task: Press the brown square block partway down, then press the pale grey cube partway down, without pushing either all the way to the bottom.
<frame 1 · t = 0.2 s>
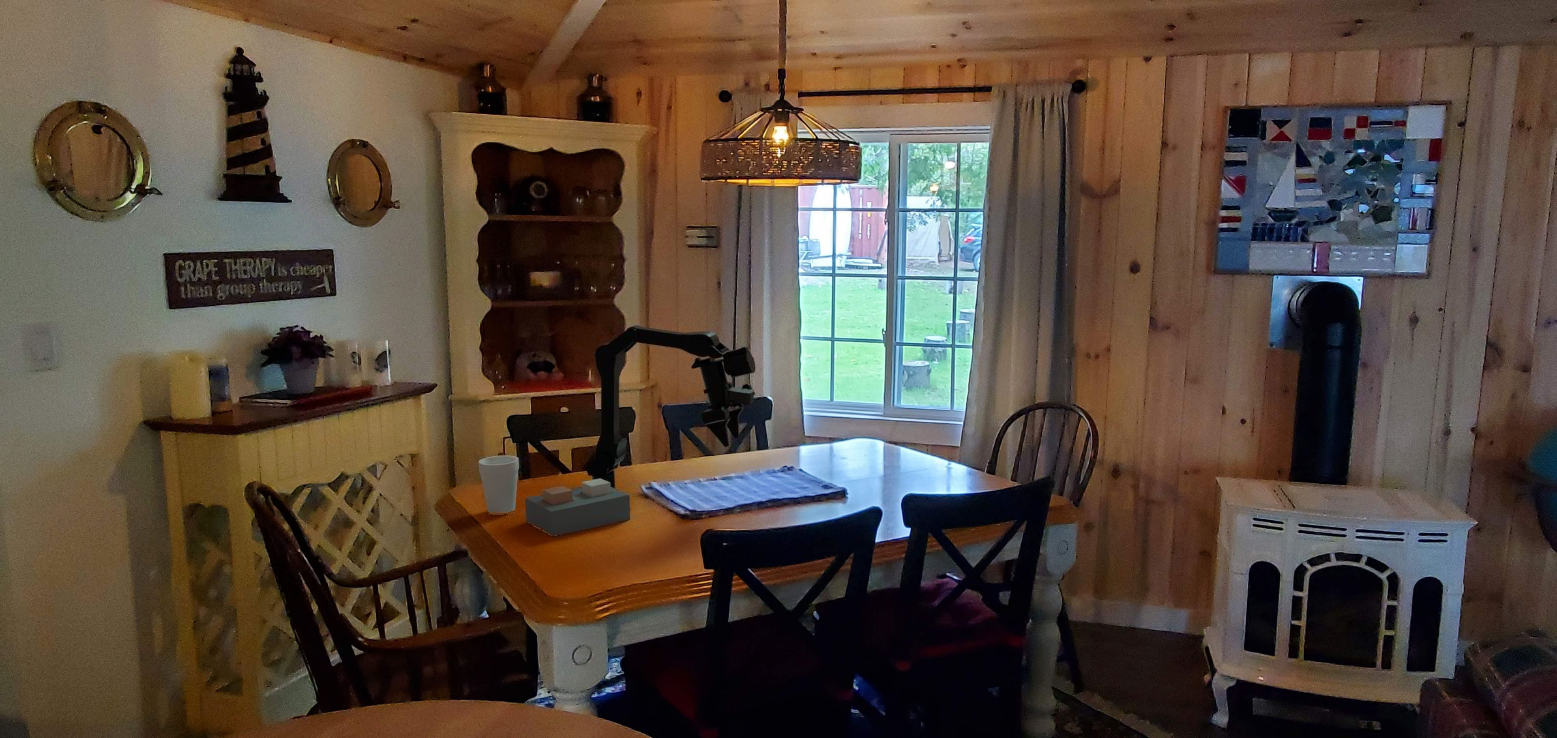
hand: (732, 442, 243), 15 cm above the table, tool pointing down, fingers open, 9 cm apart
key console: (578, 520, 232), on the table
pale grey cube: (596, 492, 234), point 6 cm above the table, slide at 0.0 cm
foam cup: (501, 512, 240), on the table
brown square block: (557, 500, 228), point 6 cm above the table, slide at 0.0 cm
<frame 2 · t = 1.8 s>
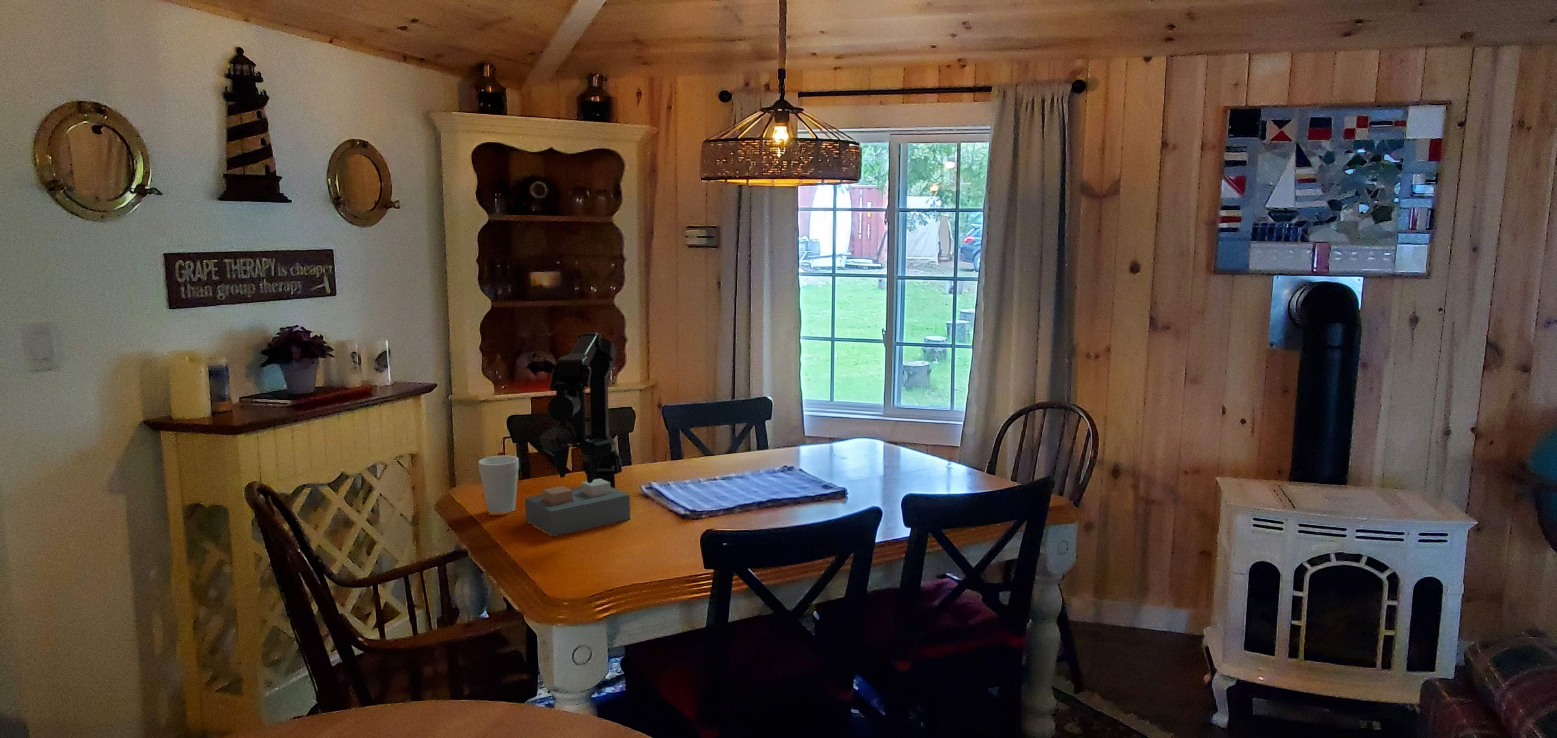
hand: (576, 480, 225), 11 cm above the table, tool pointing down, fingers open, 9 cm apart
nothing on the table moved.
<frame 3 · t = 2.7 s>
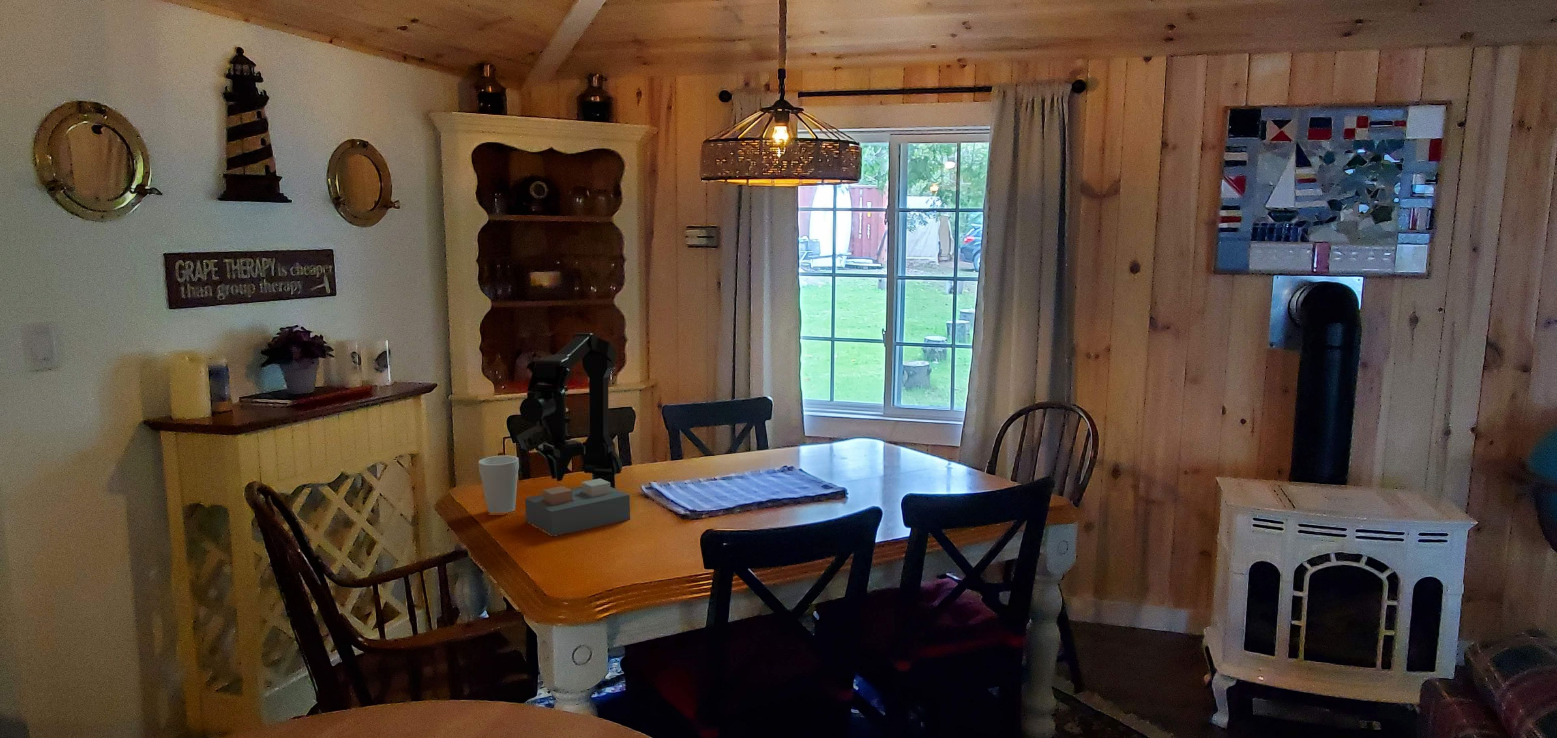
hand: (556, 479, 227), 11 cm above the table, tool pointing down, fingers closed
nothing on the table moved.
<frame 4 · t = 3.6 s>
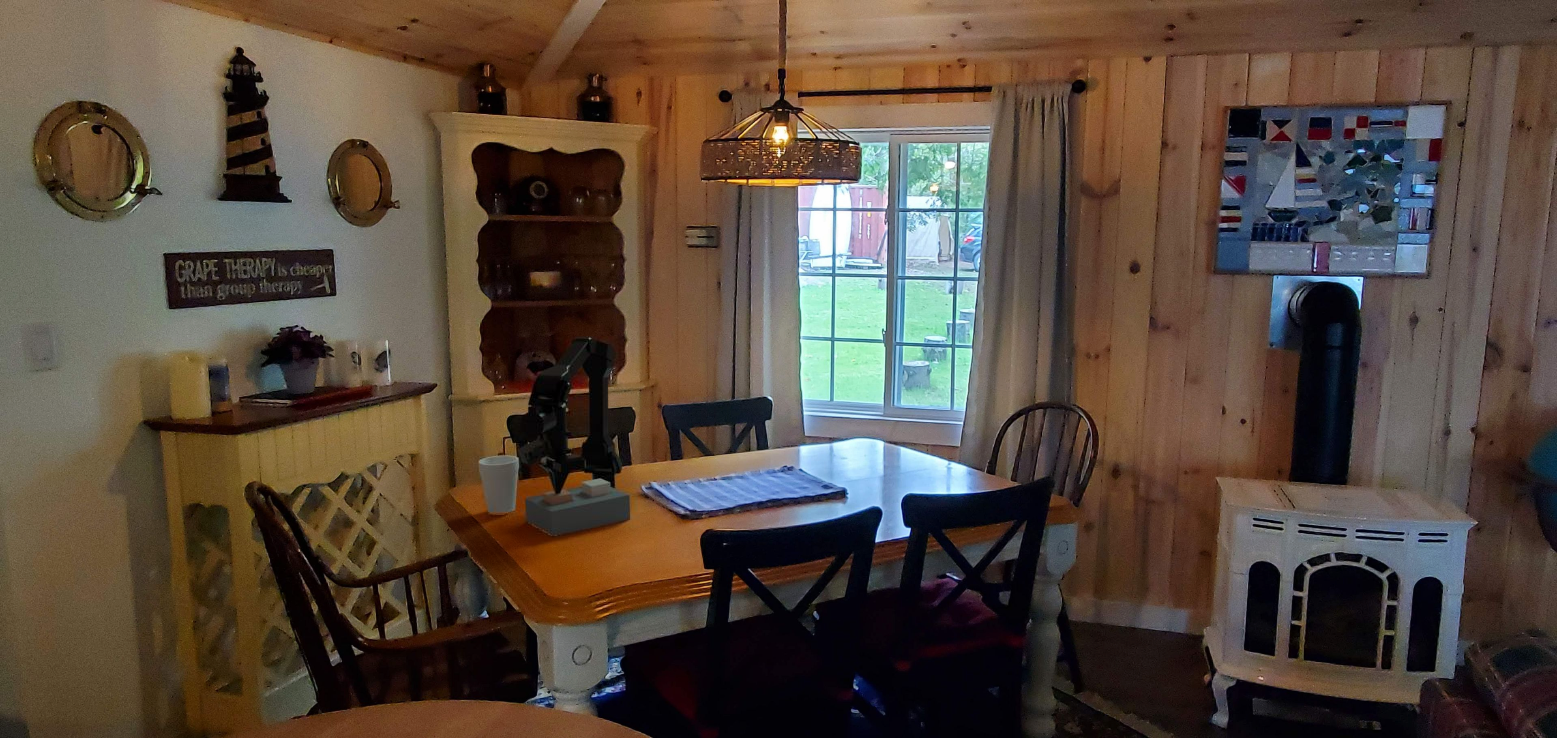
hand: (557, 493, 228), 8 cm above the table, tool pointing down, fingers closed, pressing on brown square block
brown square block: (558, 503, 228), point 5 cm above the table, slide at 0.8 cm, touching gripper
everything else where it was.
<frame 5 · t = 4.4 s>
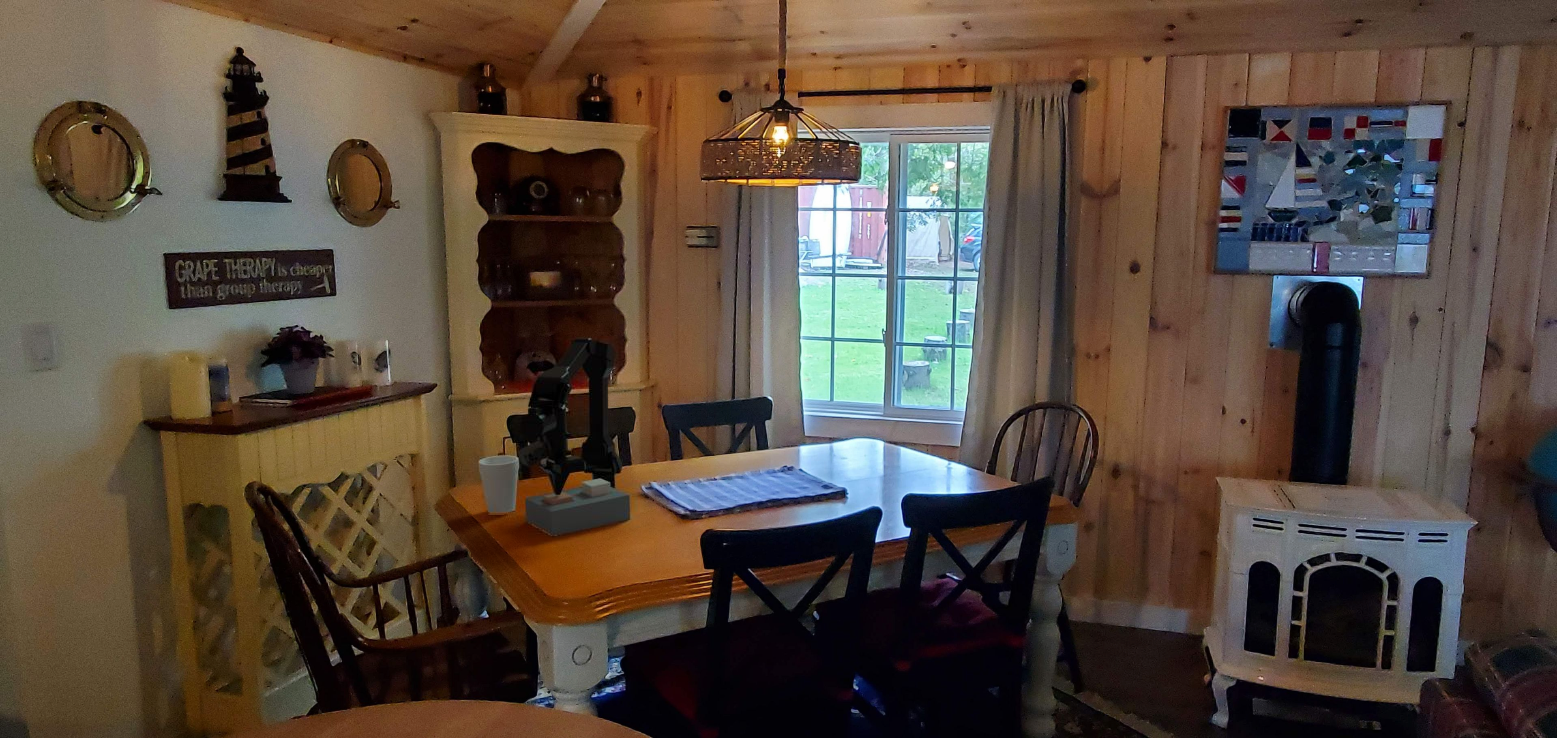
hand: (557, 494, 228), 7 cm above the table, tool pointing down, fingers closed
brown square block: (558, 506, 228), point 5 cm above the table, slide at 1.4 cm
everything else where it was.
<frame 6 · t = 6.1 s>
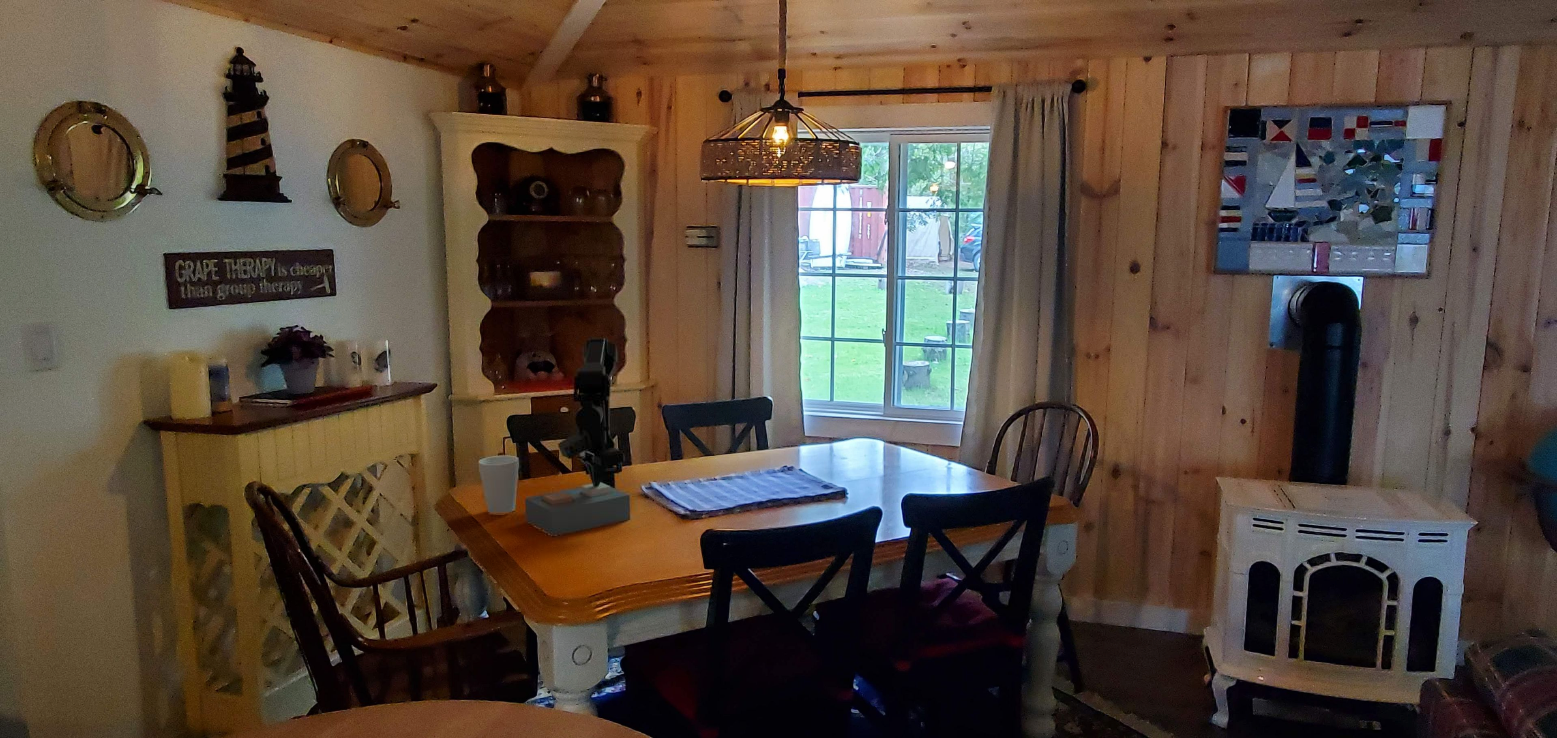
hand: (596, 486, 234), 8 cm above the table, tool pointing down, fingers closed, pressing on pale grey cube
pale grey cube: (596, 496, 234), point 5 cm above the table, slide at 0.9 cm, touching gripper
everything else where it was.
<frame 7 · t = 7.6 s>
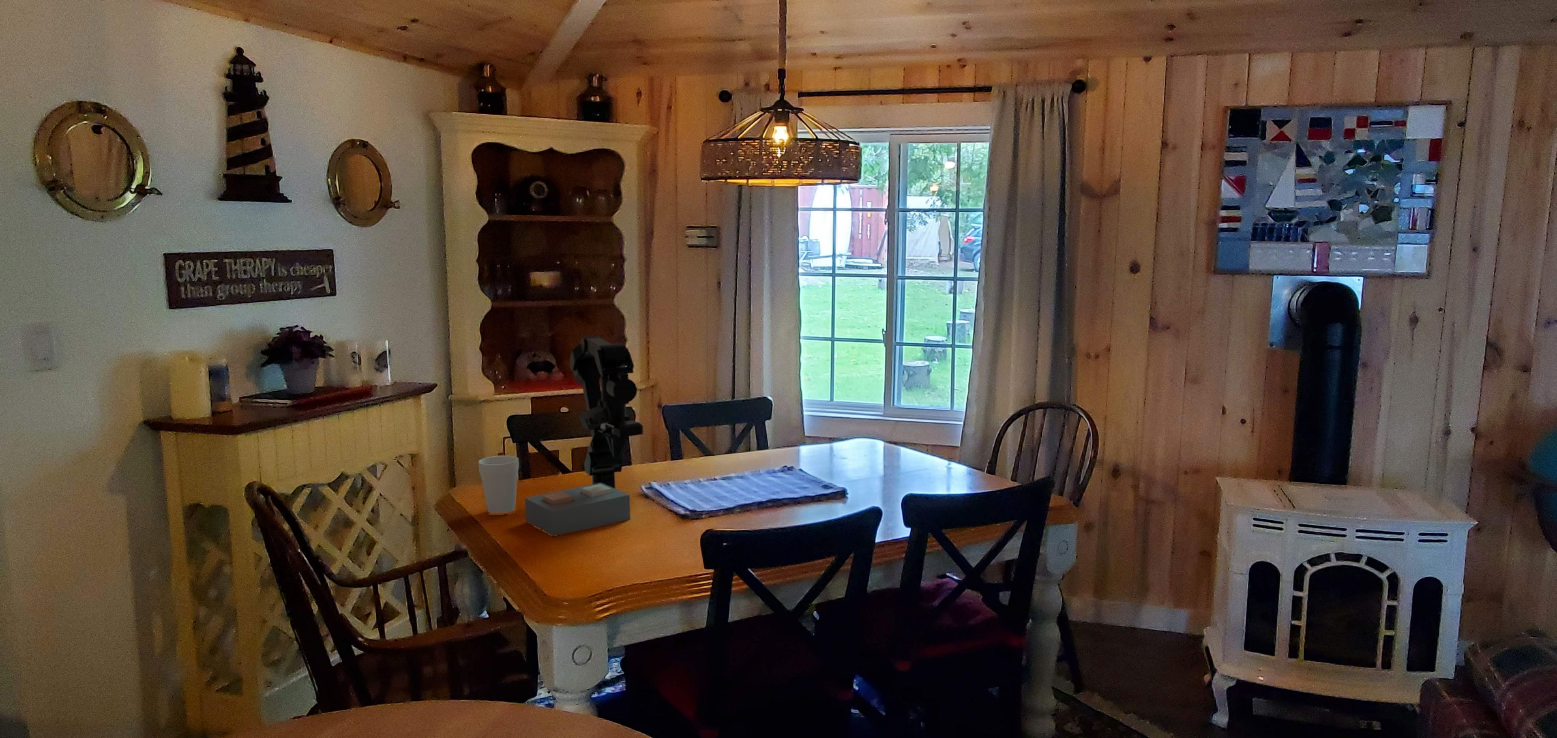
hand: (615, 457, 240), 13 cm above the table, tool pointing down, fingers closed
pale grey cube: (596, 498, 234), point 5 cm above the table, slide at 1.5 cm
everything else where it was.
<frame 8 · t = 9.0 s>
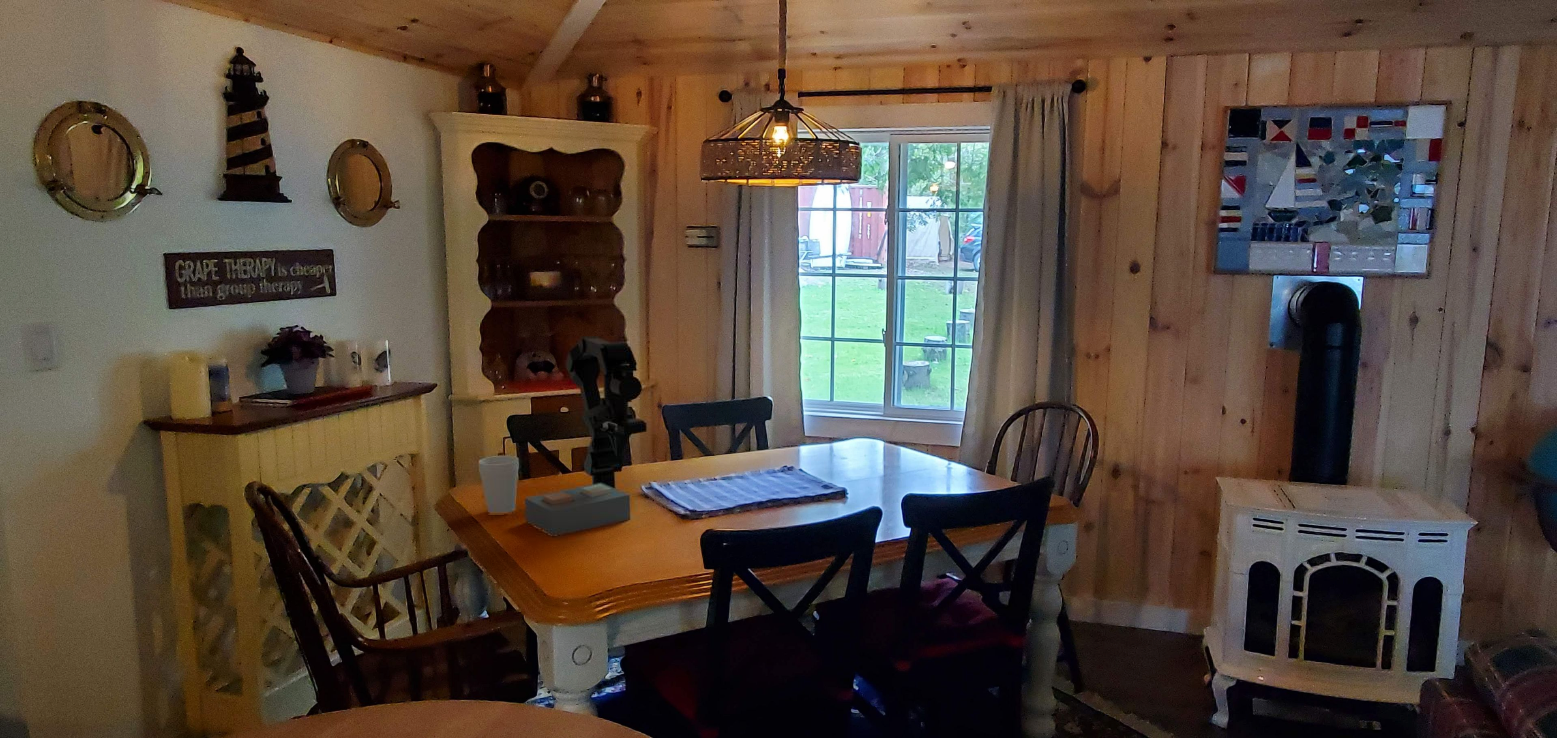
hand: (618, 456, 240), 13 cm above the table, tool pointing down, fingers closed
nothing on the table moved.
at the end: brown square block slide at 1.4 cm; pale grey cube slide at 1.5 cm; foam cup moved 0.2 cm from its start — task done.
